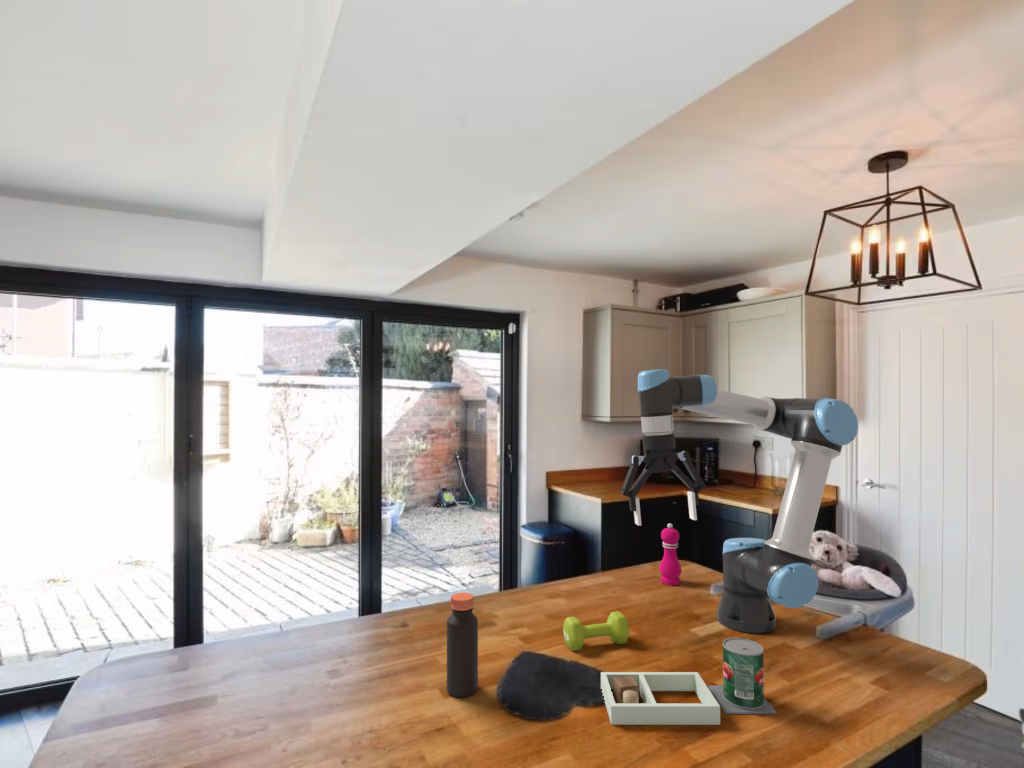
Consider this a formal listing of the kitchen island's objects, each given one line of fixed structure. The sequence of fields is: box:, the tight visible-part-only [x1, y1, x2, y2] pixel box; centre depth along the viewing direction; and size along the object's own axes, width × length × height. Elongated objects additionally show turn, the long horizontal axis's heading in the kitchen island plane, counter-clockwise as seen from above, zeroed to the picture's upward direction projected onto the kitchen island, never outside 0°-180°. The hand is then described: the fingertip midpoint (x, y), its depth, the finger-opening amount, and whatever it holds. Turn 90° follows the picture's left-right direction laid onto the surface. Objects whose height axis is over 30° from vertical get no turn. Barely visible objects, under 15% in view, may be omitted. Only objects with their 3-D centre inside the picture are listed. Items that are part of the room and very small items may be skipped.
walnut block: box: [612, 676, 640, 703], centre depth 114 cm, size 4×4×4 cm
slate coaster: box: [707, 684, 778, 715], centre depth 114 cm, size 10×10×1 cm
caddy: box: [600, 671, 721, 726], centre depth 112 cm, size 21×13×4 cm, turn 90°
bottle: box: [446, 592, 479, 698], centre depth 118 cm, size 7×7×20 cm
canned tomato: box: [722, 637, 765, 710], centre depth 114 cm, size 8×8×11 cm
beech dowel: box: [623, 690, 638, 703], centre depth 109 cm, size 3×3×4 cm
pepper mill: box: [658, 523, 682, 586], centre depth 185 cm, size 7×7×20 cm
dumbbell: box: [562, 610, 630, 652], centre depth 140 cm, size 16×8×7 cm, turn 106°
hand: (665, 521), depth 131 cm, fingers open, 13 cm apart
